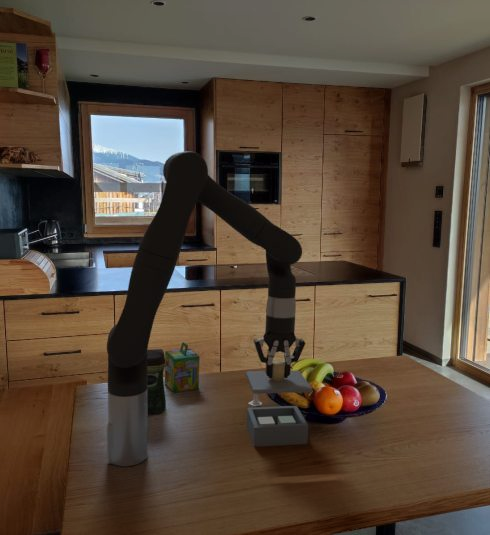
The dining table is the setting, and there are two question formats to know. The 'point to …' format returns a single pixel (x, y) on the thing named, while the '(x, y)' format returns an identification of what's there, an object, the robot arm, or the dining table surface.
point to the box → (277, 427)
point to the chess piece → (255, 401)
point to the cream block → (265, 421)
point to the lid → (277, 381)
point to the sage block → (286, 420)
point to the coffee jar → (155, 381)
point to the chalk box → (182, 369)
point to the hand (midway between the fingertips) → (277, 376)
